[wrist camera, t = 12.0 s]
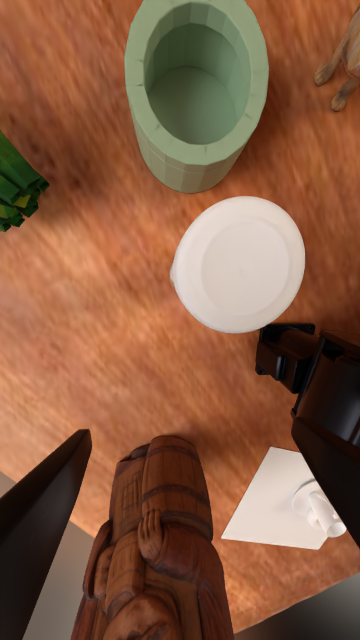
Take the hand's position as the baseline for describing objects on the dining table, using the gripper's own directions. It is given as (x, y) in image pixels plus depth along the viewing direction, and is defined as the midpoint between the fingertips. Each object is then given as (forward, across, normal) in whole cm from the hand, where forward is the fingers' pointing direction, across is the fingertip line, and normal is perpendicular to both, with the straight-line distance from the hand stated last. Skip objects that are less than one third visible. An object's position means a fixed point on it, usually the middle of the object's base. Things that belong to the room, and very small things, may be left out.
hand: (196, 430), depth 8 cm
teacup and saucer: (+13, -20, +30) cm, 38 cm away
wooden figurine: (+13, +3, +18) cm, 23 cm away
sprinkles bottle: (+13, -1, -7) cm, 15 cm away
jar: (+13, -1, -19) cm, 23 cm away
